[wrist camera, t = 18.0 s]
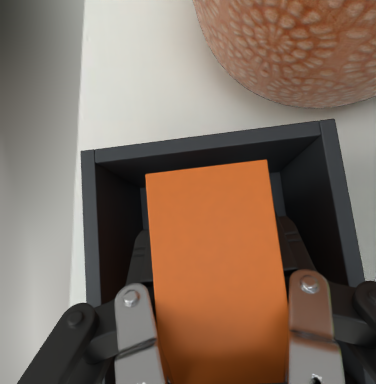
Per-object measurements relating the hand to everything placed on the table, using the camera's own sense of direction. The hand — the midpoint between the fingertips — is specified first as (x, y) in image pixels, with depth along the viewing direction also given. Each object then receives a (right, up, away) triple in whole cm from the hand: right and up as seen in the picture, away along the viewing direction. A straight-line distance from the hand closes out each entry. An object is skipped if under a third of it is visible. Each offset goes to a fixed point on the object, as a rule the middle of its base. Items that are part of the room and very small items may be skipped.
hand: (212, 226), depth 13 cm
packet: (+1, -3, +6) cm, 6 cm away
